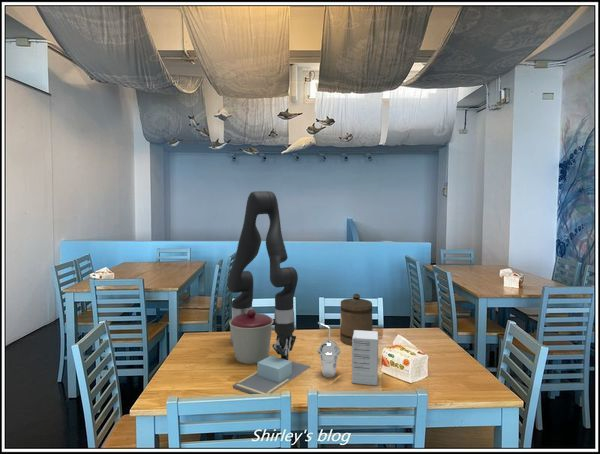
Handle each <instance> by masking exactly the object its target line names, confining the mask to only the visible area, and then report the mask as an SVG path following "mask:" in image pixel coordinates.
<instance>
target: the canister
mask: <svg viewBox="0 0 600 454" xmlns="http://www.w3.org/2000/svg"><path fill="white" fill-rule="evenodd" d="M274 323H275V319H273V318H272V317H271V316H269V315H267V314H264V313H258V312H256V310H255V309H252V310H249V311H248V312H247V314H241V315H238V316H236V317H234V318H233V319H232V318H231V319H230V320H229V321H228V324H229V326H231V331H232V338H233V344H232V346H233V352H234V355H235V359H236V361H237V362H239V363H241V364H245V365H253V364H254V365H255V364H257V363H258V362H260V361H261V360H263V359H265V358H267V357H269V356H270V355H269V353H270V347H271V337H272V331H273V330H272V328H273V327H272V326H273V324H274ZM231 331H230V332H231Z"/></svg>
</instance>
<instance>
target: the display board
mask: <svg viewBox="0 0 600 454" xmlns="http://www.w3.org/2000/svg"><path fill="white" fill-rule="evenodd" d="M291 361H292V360H291ZM311 367H312V366H310V365H307V364H302V363H299V362H295V361H292V375H290V376H289V377H287V378H286V379H284V380H283V381H281V382H279V383H278V382H275V381H272V380H269V379H266V378H263V377H260V376H258V371H257V370H256V371H255V372H253V373H251V374H250V375H248V376H246V377H245V378H243V379H241V380H239V381H237V382H235V383H234V384H232V388H233V389H235V390H237V391H241V392H243V393H247V394H249V395H252V394H264V393H271V394H273V393H274V392H276V391H277V390H279V389H280V388H282V387H283V386H285V385H286V384H288V383H289V382H291V381H292V380H294V379H295V378H296V377H298V376H299V375H301V374H302V373H304V372H305V371H308V369H310V368H311Z"/></svg>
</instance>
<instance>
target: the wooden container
mask: <svg viewBox="0 0 600 454" xmlns="http://www.w3.org/2000/svg"><path fill="white" fill-rule="evenodd" d="M339 320H340V324H339V329H340V331H339V332H340V333H339V334H340V337H339V338H340V339H339V340H340V341H341V343H343V344H345V345H349V346H352V338H353V334H354V330H361V331H373V302H372V301H371V300H368V299H364V298H361V294H359V293H354V294H353V295H352V298H345V299H342V300H340V319H339Z"/></svg>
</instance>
